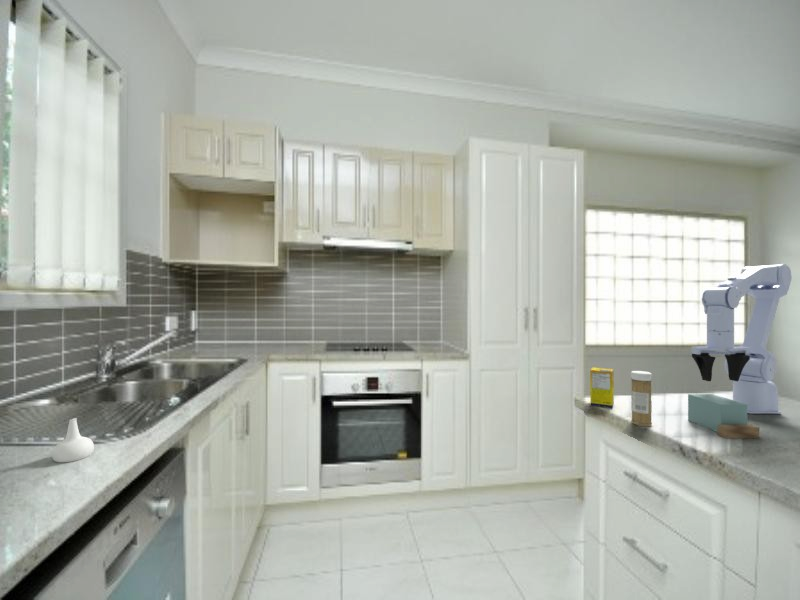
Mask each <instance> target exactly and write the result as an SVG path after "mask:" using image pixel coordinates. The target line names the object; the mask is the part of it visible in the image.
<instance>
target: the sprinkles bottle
mask: <svg viewBox="0 0 800 600" xmlns="http://www.w3.org/2000/svg"><path fill="white" fill-rule="evenodd" d="M630 380H631V390H630V393H631V399H630V400H631V401H630V404H631V406H630V407H631V421H630V422H631V423H632V424H633V425H636V426H639V427H651V426H652V425H653V422H652V410H653V405H652V380H653V373H651V372H650V371H644V370H632V371H630Z"/></svg>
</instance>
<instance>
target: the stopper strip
mask: <svg viewBox="0 0 800 600" xmlns="http://www.w3.org/2000/svg"><path fill="white" fill-rule="evenodd" d="M717 435H718V436H719V437H722V438H724V439H760V426H756V425H754V424H751V423H750V424H748V423H747V424H718V432H717Z"/></svg>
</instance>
